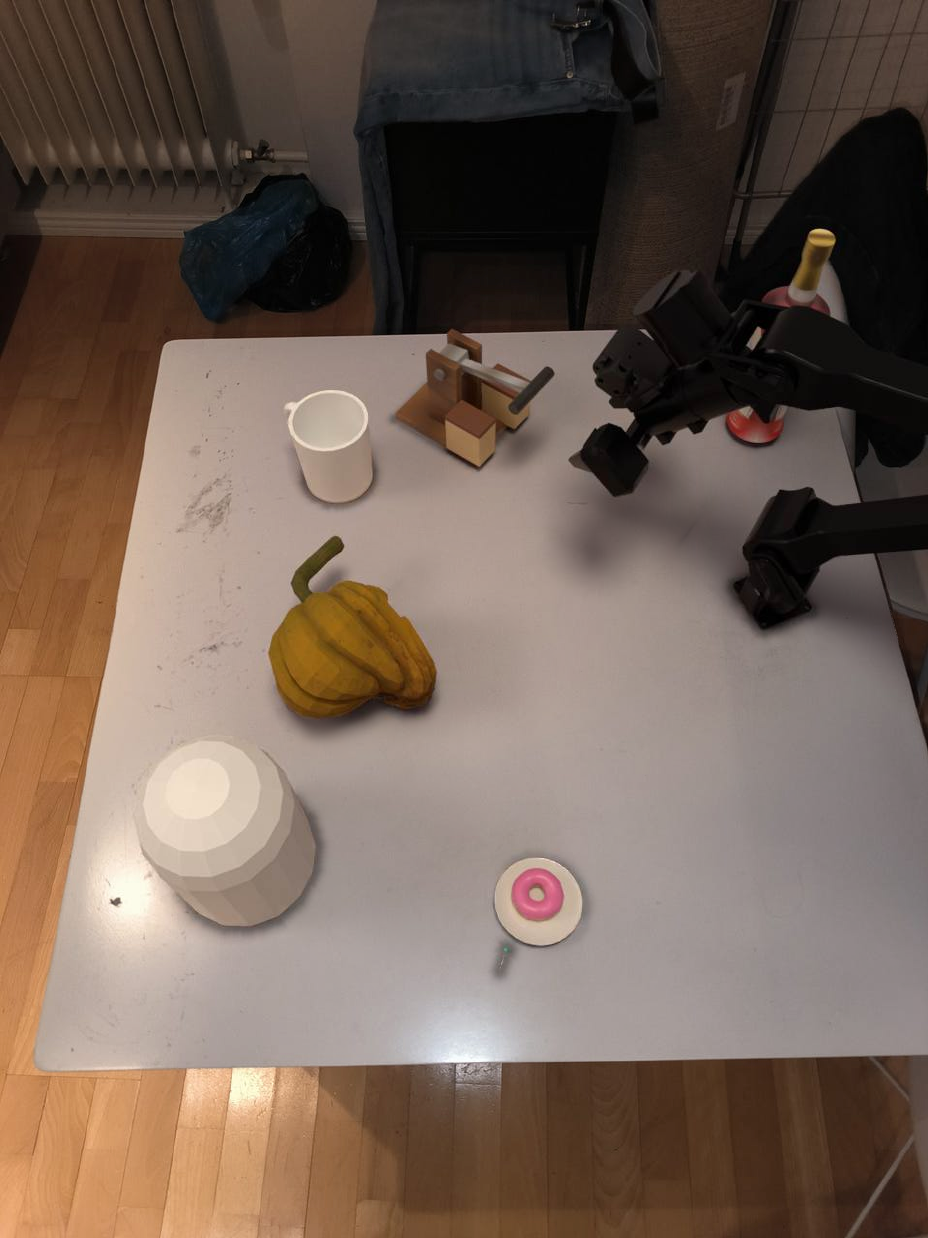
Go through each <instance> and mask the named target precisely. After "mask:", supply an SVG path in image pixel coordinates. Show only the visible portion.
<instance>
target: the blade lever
mask: <svg viewBox="0 0 928 1238" xmlns="http://www.w3.org/2000/svg"><path fill="white" fill-rule="evenodd" d="M438 353H439V354H441V355H443V356H445V357H447V358H448V359H450V360H452V361H454V362H456V363H458V364H459V365H461V376H462V375H463V374H464V373H465V372H467V373H470V374H472V375H475V376H478V377H480V378H483V379H485V380H488V381H490V382H493V383H495V384H498V385H501V386H503V387H506V388H508V389H511V390H513V391H516V392H518V393H520V394H519V395H518V396H517V397H516V398H515V399H514V400H513V401H512V402H511V403H510V404H509V405H508V409H509V411H510V412H511V413H512V414H514V415H518V414H519V413H520V412H521V411H522V410H523V409H524V407H525V406H526V405H527V404H528V403H529V402H530V403H531V401H532V400H533V399H534V398H535V397H536V396H537V395H538V394H539V393H540V392H541V391H542V390H543V389H544V387H545V386H546V385H547V384H548V383H549V382H550V381H552V379H553V378H554V377H555V371H554V369H553V368H552V367H550V366H547V365H546V366H544V367H543V368H542V369H541V371H540V372H539V373H537V374H536V376H535V377H534V378H532V380H530V381H531V382H530V383H529V382H527V381H524V380H522V379H519V378H516V377H514V376H511V375H509V374H506V373H503V372H501V371H498V370H495V369H493V367H490V366H488V365H485V364H483V363H482V364H480V363H477V362H475V361H472V360H469V355H468V350H465V349H462V348H460V347H457V346H455V345H452V344H448V345H445V347H443V348H442V350H441V351H439V352H438Z"/></svg>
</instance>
